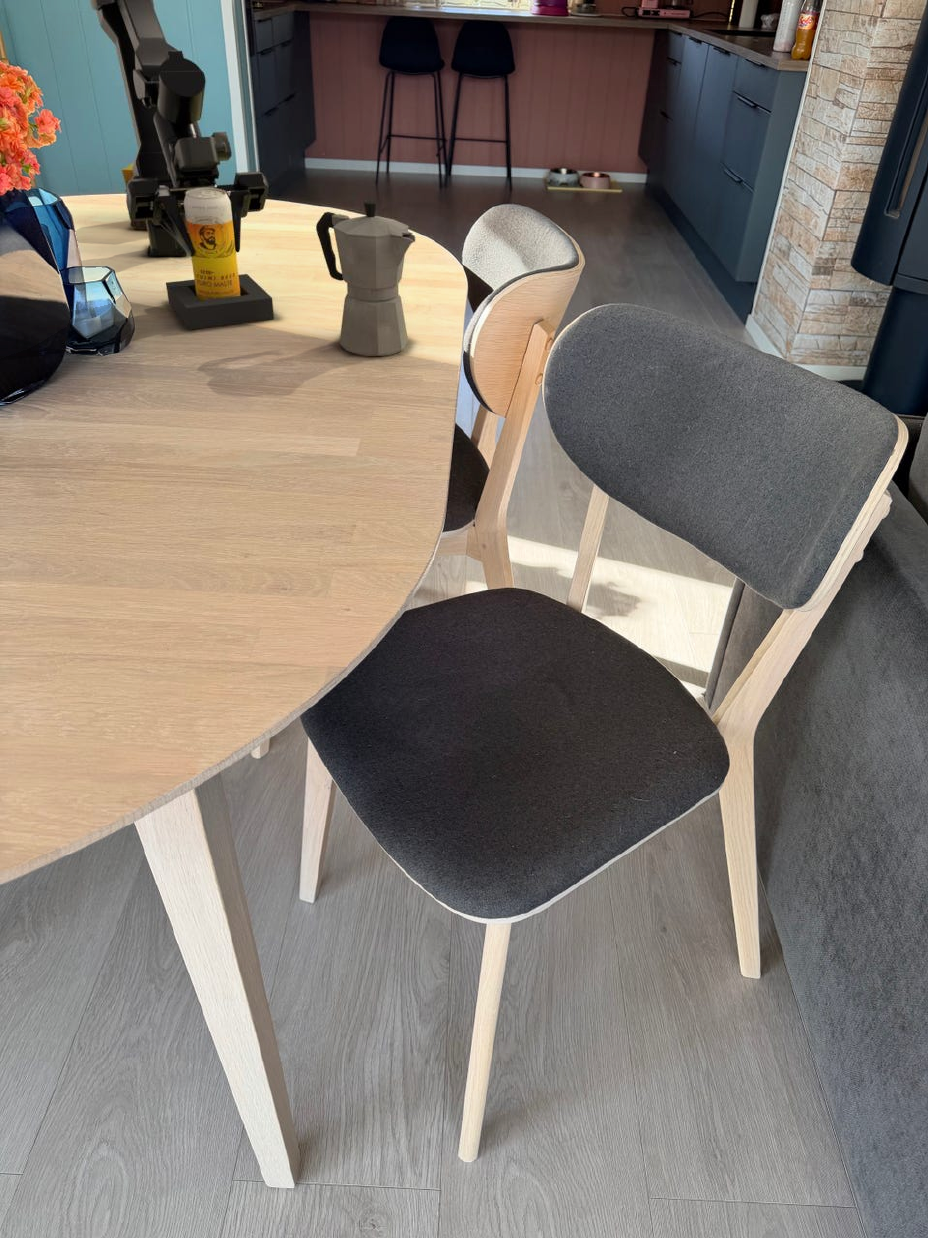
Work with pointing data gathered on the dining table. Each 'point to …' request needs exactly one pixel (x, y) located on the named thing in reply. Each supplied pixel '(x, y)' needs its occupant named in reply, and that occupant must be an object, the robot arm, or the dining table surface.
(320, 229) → the coffeepot
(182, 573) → the dining table surface
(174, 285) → the socket pad
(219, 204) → the beer can
